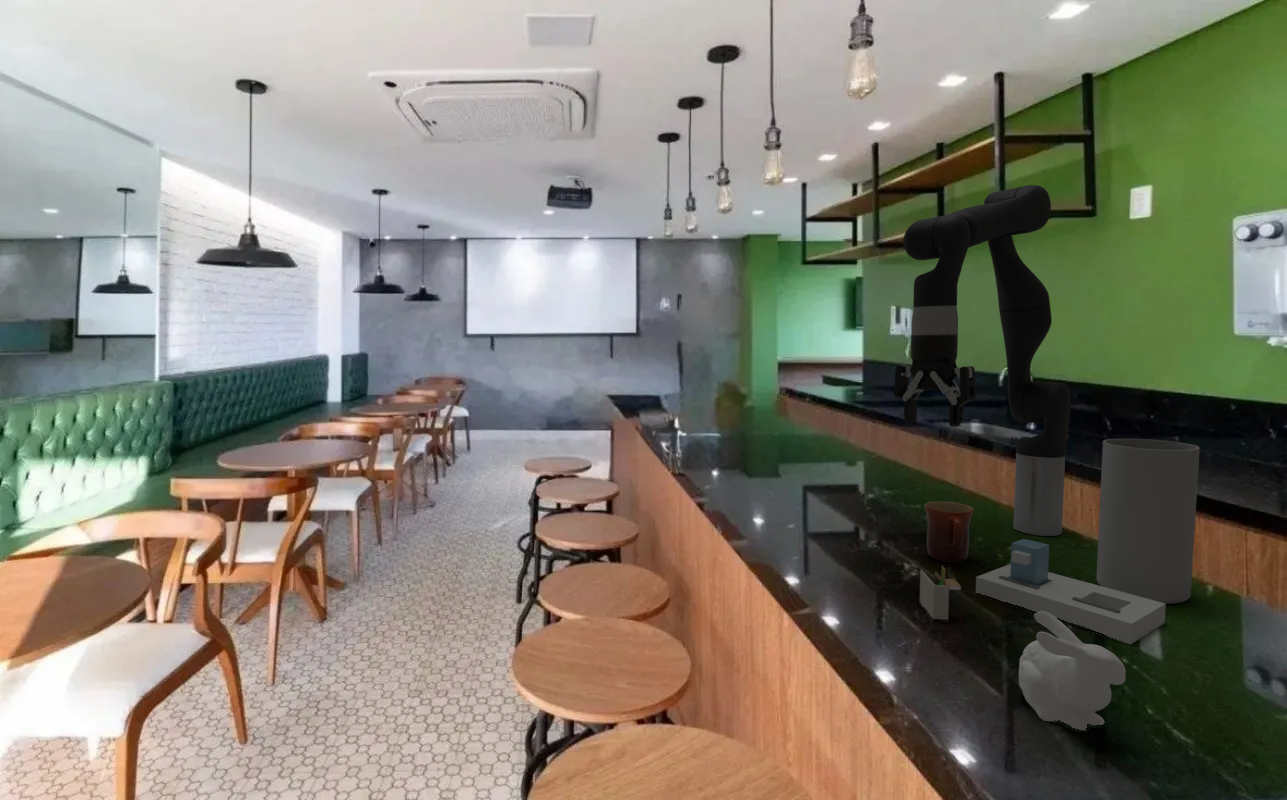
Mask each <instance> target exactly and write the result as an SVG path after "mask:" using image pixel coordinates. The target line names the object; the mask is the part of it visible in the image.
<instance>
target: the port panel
mask: <svg viewBox="0 0 1287 800" xmlns="http://www.w3.org/2000/svg"><path fill="white" fill-rule="evenodd" d="M1010 569H1011V563H1009V564H1006V565H1003V566H1002V567H999V568H996V569H993V570H991V571H988V572H986V573H983V574H981V575H977V576H976V577H975V594H976V593H980V594H982V595H986V596H989V597H992V598H995V599H998V600H1000V601H1003V602H1008V603H1011V604H1014V605H1018V606H1021V607H1024V608H1027V609H1029V610H1032V611H1035V612H1041V611H1045V612H1048V613H1050V614H1051V615H1053V616H1054V617H1056V618H1059V619H1061V620H1064V621H1067V622H1070V623H1073V624H1076V625H1080V626H1084V627H1086V628H1089V629H1091V630H1094V631H1096V632H1099V633H1102V634H1104V635H1106V636H1108V637H1107V638H1109V637H1110V638H1109V639H1112V638H1113V640H1115V639H1116V641H1119V642H1122V643H1125V644H1128V645H1133V644H1134V643H1136V642H1137V641H1138V640H1140V639H1142V638H1143V637H1146V636H1147V635H1148V634H1150V633H1152V632H1153V631H1154V630H1156V629H1157V628H1159V627H1161V626H1163V625H1164V624H1165V621H1166V606H1167V604H1165V603H1161V602H1158V601H1154V600H1150V599H1147V598H1143V597H1139V596H1135V595H1132V594H1128V593H1124V592H1121V591H1117V590H1113V589H1109V588H1106V587H1102V586H1100V585H1099V584H1094V583H1090V582H1086V581H1083V580H1080V579H1079V580H1078V579H1077V578H1076V579H1075V578H1072V577H1068V576H1065V575H1061V574H1056V573H1054V572H1050V571H1048V583H1046V584H1043V585H1041V586H1036V585H1032V584H1029V583H1026V582H1022V581H1019V580H1015V579H1012V578H1010ZM1106 636H1105V637H1106Z"/></svg>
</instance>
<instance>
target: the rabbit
mask: <svg viewBox="0 0 1287 800" xmlns="http://www.w3.org/2000/svg"><path fill="white" fill-rule="evenodd" d="M1033 614H1034V615H1033V617H1034V620H1035V621H1036V622H1037V623H1038V624H1040V625H1042V626H1043V627H1045V628H1046V629H1048V630H1049V631H1050V632H1051V633H1052V634H1054V635H1052V634H1051V633H1049V632H1045V631H1039V632H1037V633H1036V636H1035V637H1036V638H1035V640H1033V641H1031V642H1030V643H1028V645H1026V647H1025V648H1024V650H1023V651H1022V655H1021V656H1020V658H1019V667H1018V686H1019V688H1020V689H1021V691H1022V694H1023V696H1024V697H1023V698H1024V699H1025V701H1026V703H1028V705H1030V707H1031V708H1032V709H1033V710H1034V711H1035V713H1036V714H1037V716H1038V717H1039V718H1040V719H1041V720H1042V721H1044V722H1046V721H1055V720H1056V721H1058V720H1060V721H1061V722H1064V723H1066V724H1068V725H1070V726H1071V727H1072V728H1075V729H1079V730H1084V731H1085V730H1086V728H1087V724H1090V725H1094V726H1095V725H1103V724H1104V723H1105V720H1104V718H1103V717H1102V716H1101V715H1099V714H1097V713H1096V712H1098V711H1101V710H1103V709H1105V708H1106V707H1107V706H1108V705H1109V704H1110V703H1111V700H1112V689H1111V687H1110V685H1114V686H1115V685H1116V686H1119V685H1123V684H1124V683H1125V682H1126V673H1127V671H1126V670H1127V669H1126V667H1125V665H1124V664H1123V662H1122V661H1121V659H1120V658H1118V657H1117V655H1116V654H1115V653H1113V652H1111V651H1110V650H1108V649H1107V648H1105V647H1103V646H1101V645H1098V644H1094V643H1093V644H1092V643H1084V642H1082V641H1081V640H1080V639H1079V638H1078V637H1077V635H1075V633H1074V632H1073V631H1072V630H1071V629H1070V628H1069V627H1068V626H1067V625H1065V623H1063V622H1061V621H1060V620H1058V619H1057V618H1056V617H1054V616H1053V615H1051V614H1050V613H1048V612H1045V611H1041V612H1037V613H1033ZM1105 724H1106V723H1105Z"/></svg>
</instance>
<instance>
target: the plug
mask: <svg viewBox="0 0 1287 800" xmlns="http://www.w3.org/2000/svg"><path fill="white" fill-rule="evenodd" d="M1010 544H1011V545H1010V546H1011V548H1010V549H1011V550H1010V564H1011V569H1010V578H1012V579H1015V580H1019V581H1022V582H1026V583H1029V584H1032V585H1036V586H1041V585H1043V584H1046V583H1048V572H1049V562H1050V561H1049V560H1050V559H1049V558H1050V544H1047V543H1043V542H1040V541H1034V540H1030V539H1027V538H1026V539H1025V538H1023V539H1019V540H1017V541H1014V542H1011V543H1010Z"/></svg>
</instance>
